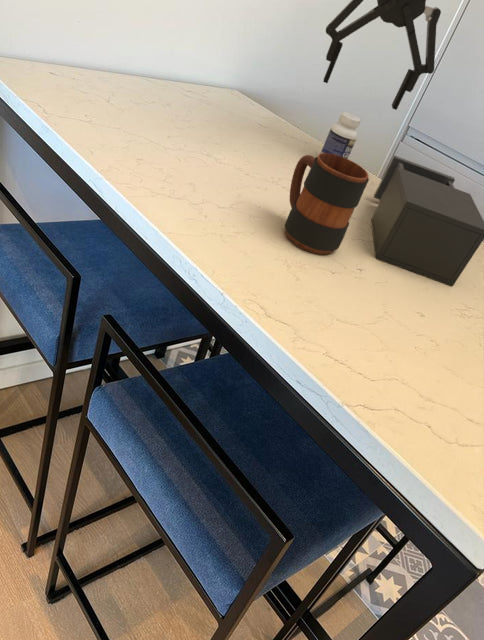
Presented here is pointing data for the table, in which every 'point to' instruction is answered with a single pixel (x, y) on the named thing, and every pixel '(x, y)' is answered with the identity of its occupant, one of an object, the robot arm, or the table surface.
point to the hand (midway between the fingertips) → (359, 94)
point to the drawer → (412, 168)
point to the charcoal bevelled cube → (426, 227)
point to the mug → (323, 201)
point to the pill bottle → (342, 136)
